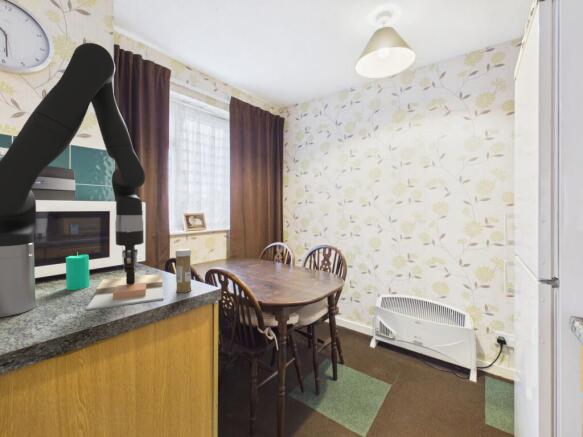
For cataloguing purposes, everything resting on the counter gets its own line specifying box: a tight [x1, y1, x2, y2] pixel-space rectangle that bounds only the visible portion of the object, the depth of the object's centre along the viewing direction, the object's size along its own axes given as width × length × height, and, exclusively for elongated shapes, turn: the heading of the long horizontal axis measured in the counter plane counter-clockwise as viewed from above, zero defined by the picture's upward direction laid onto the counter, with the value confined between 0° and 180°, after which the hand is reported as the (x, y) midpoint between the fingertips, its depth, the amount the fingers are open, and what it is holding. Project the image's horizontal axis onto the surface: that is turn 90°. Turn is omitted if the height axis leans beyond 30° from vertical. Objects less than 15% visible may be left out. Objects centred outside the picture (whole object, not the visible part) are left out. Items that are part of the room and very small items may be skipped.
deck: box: [95, 273, 163, 295], centre depth 89 cm, size 18×12×2 cm, turn 118°
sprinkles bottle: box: [175, 248, 192, 294], centre depth 84 cm, size 5×5×13 cm
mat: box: [85, 285, 164, 311], centre depth 77 cm, size 18×13×1 cm
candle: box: [65, 251, 90, 291], centre depth 87 cm, size 6×6×12 cm
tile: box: [113, 282, 146, 300], centre depth 79 cm, size 8×8×2 cm
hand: (130, 283), depth 83 cm, fingers closed
